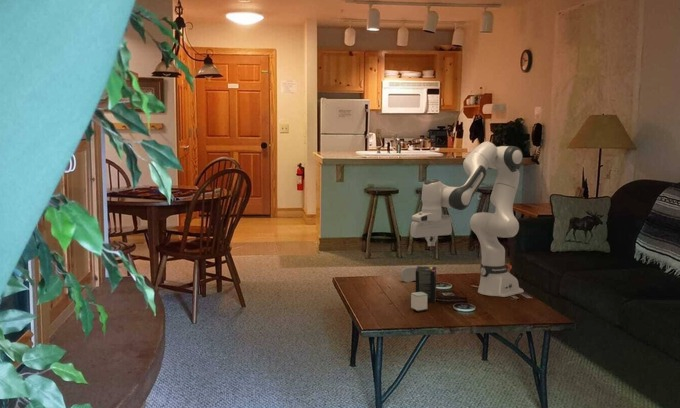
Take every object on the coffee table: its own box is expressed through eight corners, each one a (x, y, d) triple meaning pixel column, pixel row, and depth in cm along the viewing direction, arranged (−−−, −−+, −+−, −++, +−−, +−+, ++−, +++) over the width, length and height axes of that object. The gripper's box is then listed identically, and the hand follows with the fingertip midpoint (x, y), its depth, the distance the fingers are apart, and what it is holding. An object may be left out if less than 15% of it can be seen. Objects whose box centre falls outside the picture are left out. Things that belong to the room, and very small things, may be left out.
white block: (421, 305, 278) (421, 291, 277) (427, 308, 274) (427, 294, 273) (411, 307, 276) (411, 292, 275) (417, 310, 271) (417, 295, 271)
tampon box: (435, 302, 288) (435, 271, 286) (415, 301, 289) (415, 270, 288) (436, 296, 298) (436, 266, 297) (417, 295, 300) (417, 265, 298)
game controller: (435, 280, 331) (435, 264, 330) (436, 281, 328) (436, 265, 327) (399, 281, 327) (400, 266, 326) (401, 282, 325) (401, 267, 324)
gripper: (446, 213, 287) (446, 242, 288) (408, 216, 278) (408, 246, 280) (454, 215, 281) (454, 245, 283) (415, 218, 273) (415, 249, 274)
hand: (431, 245), depth 281 cm, fingers closed
